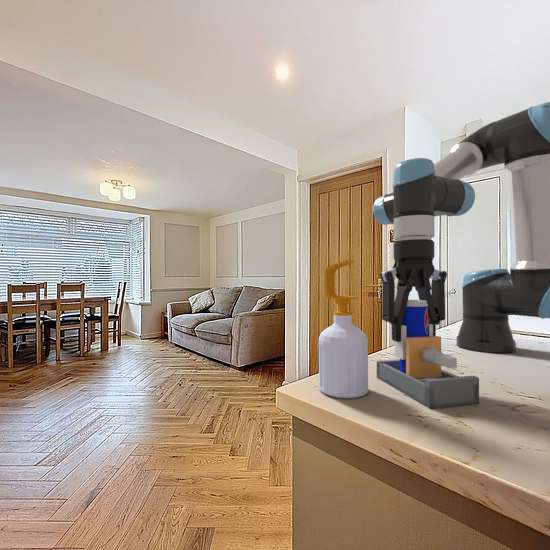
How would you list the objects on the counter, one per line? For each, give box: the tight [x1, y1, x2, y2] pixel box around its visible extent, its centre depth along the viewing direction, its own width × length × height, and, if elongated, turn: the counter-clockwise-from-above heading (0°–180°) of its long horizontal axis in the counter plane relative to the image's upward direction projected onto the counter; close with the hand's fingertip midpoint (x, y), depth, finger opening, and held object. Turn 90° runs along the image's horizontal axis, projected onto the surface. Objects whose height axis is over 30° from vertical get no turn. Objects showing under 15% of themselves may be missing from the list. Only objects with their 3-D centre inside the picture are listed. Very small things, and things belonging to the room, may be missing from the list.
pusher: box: [406, 335, 458, 378], centre depth 60 cm, size 7×8×8 cm
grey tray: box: [376, 358, 480, 409], centre depth 64 cm, size 10×17×4 cm, turn 12°
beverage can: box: [399, 299, 428, 379], centre depth 66 cm, size 5×5×15 cm
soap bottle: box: [318, 259, 369, 399], centre depth 63 cm, size 9×9×25 cm
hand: (413, 356), depth 66 cm, fingers closed on beverage can, 5 cm apart
